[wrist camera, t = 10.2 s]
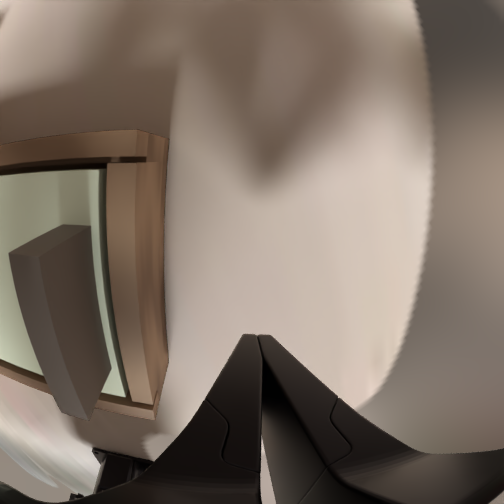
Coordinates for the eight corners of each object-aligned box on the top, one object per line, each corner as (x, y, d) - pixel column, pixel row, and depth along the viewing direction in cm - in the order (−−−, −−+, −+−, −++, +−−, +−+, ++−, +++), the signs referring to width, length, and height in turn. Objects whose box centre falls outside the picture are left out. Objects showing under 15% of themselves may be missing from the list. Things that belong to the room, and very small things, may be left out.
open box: (168, 362, 15) (155, 420, 11) (-1, 324, 13) (-32, 356, 9) (169, 139, 11) (137, 129, 7) (-25, 157, 10) (-72, 166, 6)
